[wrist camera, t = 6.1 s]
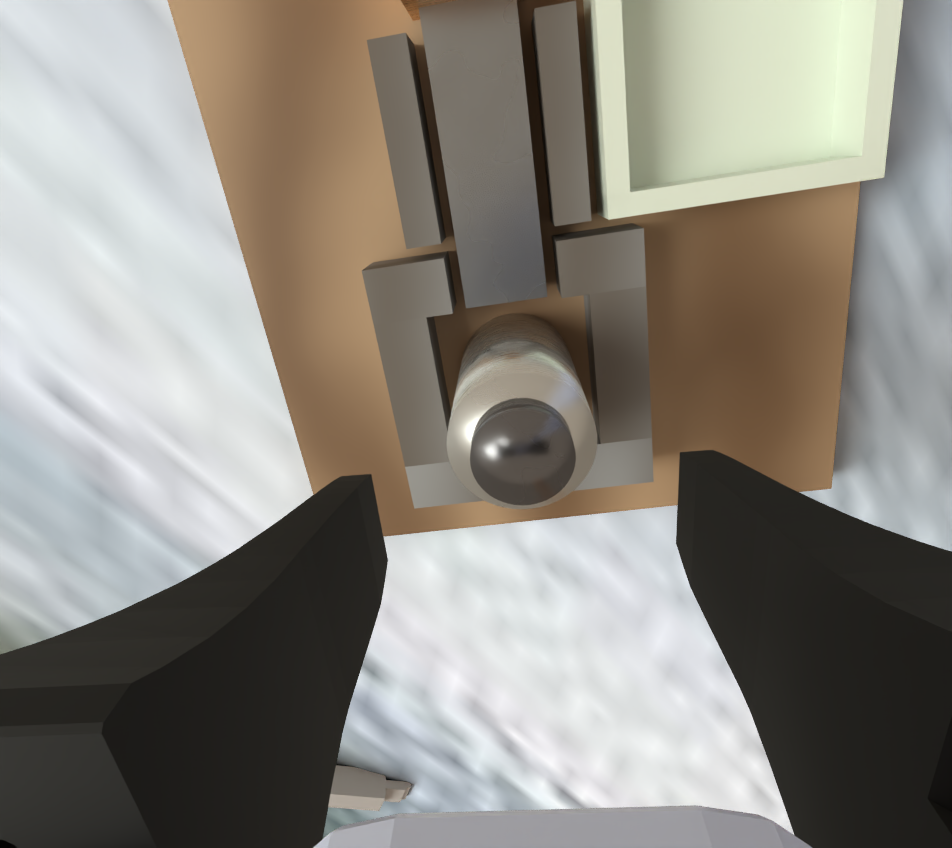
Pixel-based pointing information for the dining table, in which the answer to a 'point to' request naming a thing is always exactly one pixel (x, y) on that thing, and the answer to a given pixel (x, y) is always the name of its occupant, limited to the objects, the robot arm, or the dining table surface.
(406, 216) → the holder
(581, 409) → the peg
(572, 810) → the robot arm
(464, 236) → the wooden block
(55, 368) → the dining table surface
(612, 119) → the tray
